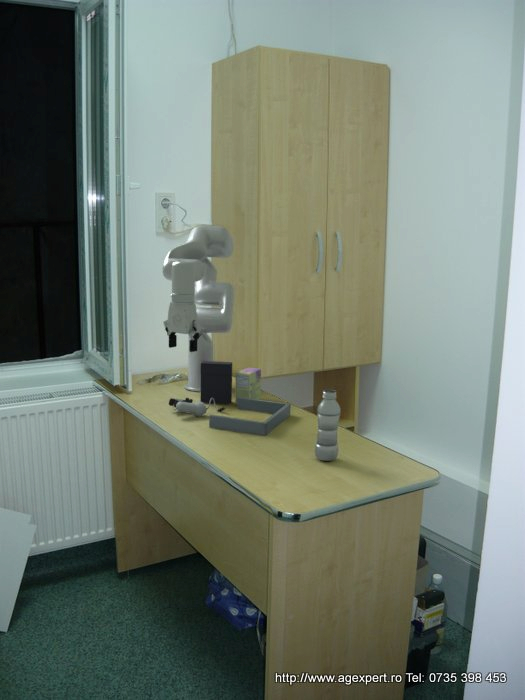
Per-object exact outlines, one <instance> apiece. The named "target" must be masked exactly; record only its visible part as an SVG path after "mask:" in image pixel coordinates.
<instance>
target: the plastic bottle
mask: <svg viewBox="0 0 525 700" xmlns="http://www.w3.org/2000/svg"><path fill="white" fill-rule="evenodd" d="M341 411H342V409H341V407H340V404H339V403H338V401H337V390H333V389H324V390H323V391H322V400H321V402H320V403H319V404H318V405H317V412H316V413H317V427H318V429H317V437H316V438H317V439H316V443H315V447H314V455H315V457H316V459H317V460H319V461H322V462H331V461H332V462H333V461H335V460H336V459H337V458H338V456H339V455H338V454H339V446H338V445H339V444H338V429H339V420H340V418H341V417H340V416H341Z"/></svg>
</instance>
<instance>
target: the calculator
mask: <svg viewBox="0 0 525 700" xmlns="http://www.w3.org/2000/svg"><path fill="white" fill-rule="evenodd" d="M200 372H201V392H200V400H199V402H203V403H204V404H209V403H210V399H211V398H214V400H213V399H212V400H211V403H210V404H214V401H215V405H220V404H221V405H231V403H232V402H233V401H232V400H233V399H232V397H233V396H232V395H233V394H232V393H233V362H231V361H217V360H215V361H214V360H213V361H202V363H201V371H200Z"/></svg>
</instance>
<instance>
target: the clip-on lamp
mask: <svg viewBox="0 0 525 700" xmlns="http://www.w3.org/2000/svg"><path fill="white" fill-rule="evenodd" d="M212 399H213V400H214V398H211V399H210V403H208V405H207V406H206V403H203V402H201V401H196V402H194V399H190V397H185V398H184V399H179V398H169V401H168V405H169V406H170V407H172V409H173V411H177V412H179V413H180V412H182V413H187V414H192V415H194V416H195V417H198V418H201V417H203V416H204V415H206V413H207V411H208V409H209V408H210V406H211V404H212V403H211V400H212ZM193 402H194V403H193ZM216 405H217V404H215V401H214V409H215V411H217V412H219V413H220V412H223V411H225V410H226V409H227V407H225V406H223V407H220V408H218V409H217V406H216Z"/></svg>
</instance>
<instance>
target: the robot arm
mask: <svg viewBox="0 0 525 700" xmlns="http://www.w3.org/2000/svg"><path fill="white" fill-rule="evenodd" d="M234 247H235V245H234V239H233V238H232V235H231V233H230V231H229V230H228V229H227V227H224V226H222V225H203V224H201V225H197V226H195V227H193V228H192V229H191V231H190V233H189V236H188V238H187V239H186V242H185V243H183V244H180V245H178V246H176V247H174V248H171V250H169V252H168V253H167V255H166V256H165V259H164V261H163V264H162V275H163V277H164V279H166V280H167V281H171V294H170V298H171V301H170V302H169V304H168V305H169V306H168V310H167V319H166V320H165V321H163V326H164V328H165V329H164V330H165V331H166V334H167V335H166V336H168V348H169V349H170V348H171V349H172V348H176V347H177V346H178V345H177V344H178V343H177V340H178V337H177V335H176V334H181V335H188V337H187V338H188V362H187V363H188V364H187V365H188V372H187V375H188V376H187V377H188V379H187V381H188V382H186V383H184V385H183V386H184V389H185V390H187V391H190V392H199V393H201V372H200V371H201V363H202V361H214V342H213V340H212V338H211V337H210V335H208V334H210V333H211V334H227V333H229V332H231V330H232V327H233V318H234V317H233V314H234V306H235V289H234V287H233V284H232V283H231V282H227V281H217V275H218V271H217V268H216V267H215V265H214V264H213V263H212V261H211V260H210V259H209V258H223V259H226V258H230V257H231V256H232V255H233V252H234V250H235V249H234ZM197 305H199V306H203V307H199V306H198V307H197ZM206 306H207V307H206ZM217 307H220V308H217Z"/></svg>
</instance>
